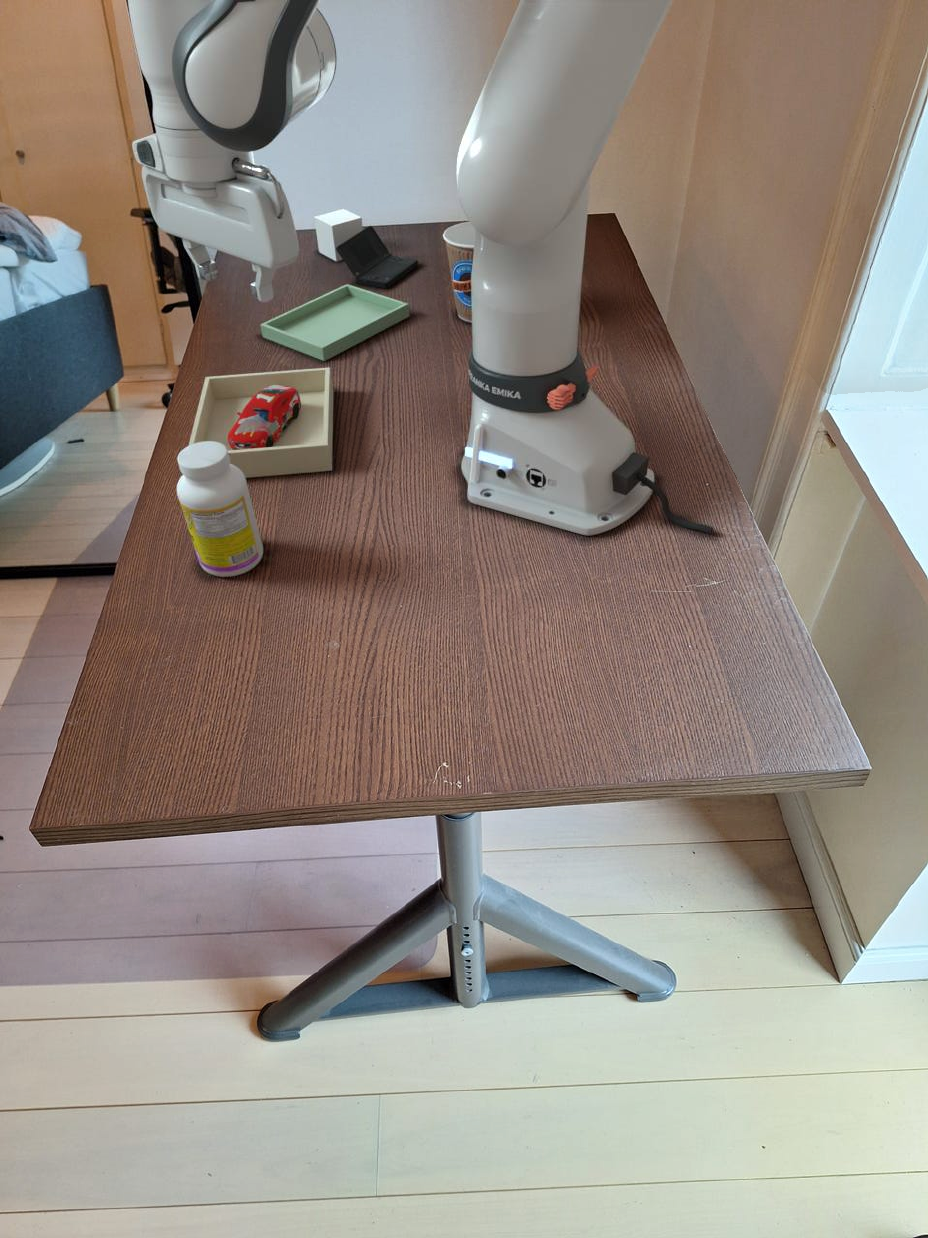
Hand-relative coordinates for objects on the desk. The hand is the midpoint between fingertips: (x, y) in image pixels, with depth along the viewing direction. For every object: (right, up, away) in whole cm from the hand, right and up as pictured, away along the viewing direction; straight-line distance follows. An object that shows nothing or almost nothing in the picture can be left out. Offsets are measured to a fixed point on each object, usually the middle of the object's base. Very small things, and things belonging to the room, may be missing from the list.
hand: (235, 288), depth 94 cm
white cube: (+4, +28, +57) cm, 63 cm away
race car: (+1, -13, +12) cm, 18 cm away
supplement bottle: (+1, -31, -5) cm, 31 cm away
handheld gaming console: (+11, +22, +49) cm, 55 cm away
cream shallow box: (+1, -13, +12) cm, 18 cm away
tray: (+6, +8, +34) cm, 36 cm away
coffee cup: (+28, +10, +36) cm, 47 cm away
